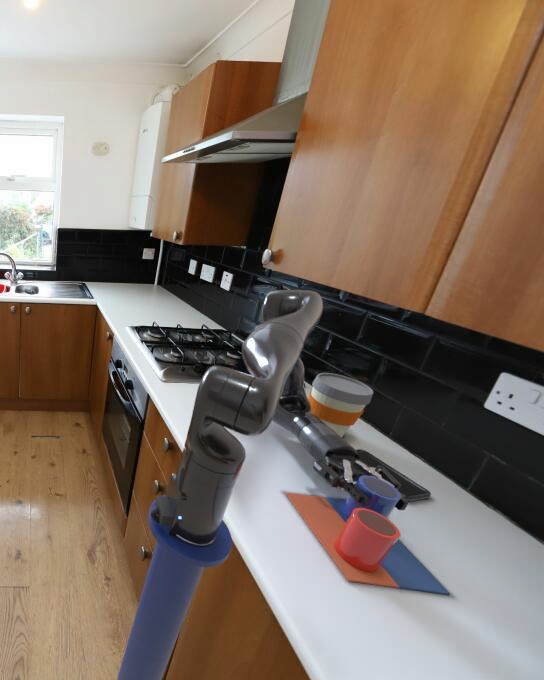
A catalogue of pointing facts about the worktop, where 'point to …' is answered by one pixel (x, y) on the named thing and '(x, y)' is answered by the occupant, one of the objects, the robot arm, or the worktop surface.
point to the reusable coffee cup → (338, 400)
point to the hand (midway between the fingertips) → (384, 504)
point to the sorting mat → (393, 571)
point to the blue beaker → (374, 497)
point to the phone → (397, 478)
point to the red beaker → (366, 539)
